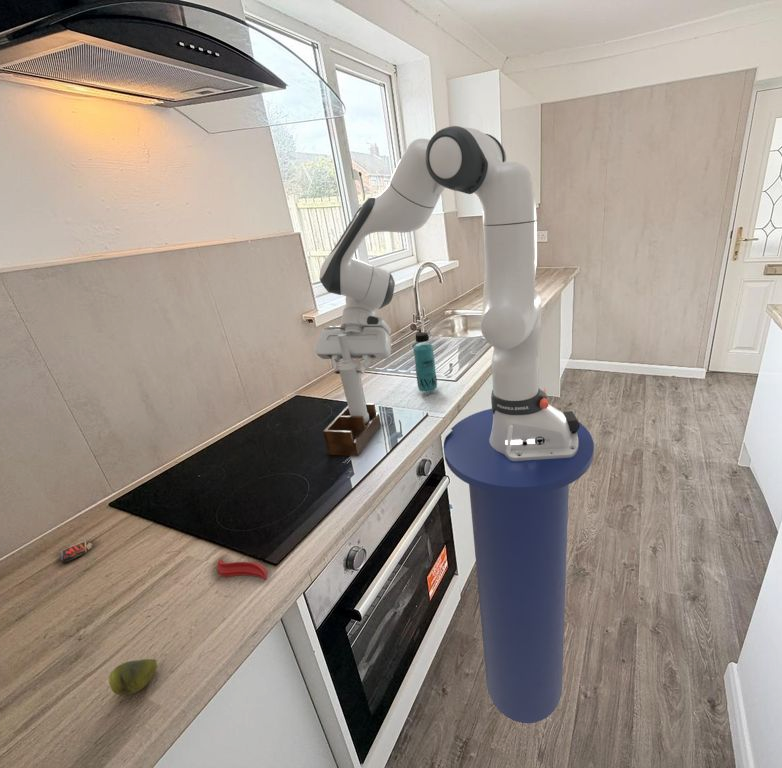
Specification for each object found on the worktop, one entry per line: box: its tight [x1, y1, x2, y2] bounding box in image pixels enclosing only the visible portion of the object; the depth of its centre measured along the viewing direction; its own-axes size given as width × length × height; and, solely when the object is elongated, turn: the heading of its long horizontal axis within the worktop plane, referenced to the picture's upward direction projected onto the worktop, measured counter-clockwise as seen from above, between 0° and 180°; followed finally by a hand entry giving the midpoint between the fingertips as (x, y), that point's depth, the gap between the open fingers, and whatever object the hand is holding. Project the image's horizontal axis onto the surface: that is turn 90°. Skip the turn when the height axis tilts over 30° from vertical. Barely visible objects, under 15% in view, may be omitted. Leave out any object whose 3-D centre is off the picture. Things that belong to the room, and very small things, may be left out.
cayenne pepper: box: [216, 558, 268, 580], centre depth 73 cm, size 12×5×2 cm, turn 60°
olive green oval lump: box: [108, 658, 158, 697], centre depth 55 cm, size 4×5×5 cm
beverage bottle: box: [413, 332, 438, 393], centre depth 132 cm, size 6×7×20 cm
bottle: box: [338, 334, 369, 424], centre depth 108 cm, size 5×5×25 cm
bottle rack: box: [322, 402, 382, 457], centre depth 110 cm, size 8×16×7 cm, turn 169°
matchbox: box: [60, 540, 93, 563], centre depth 81 cm, size 5×5×1 cm
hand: (348, 373), depth 107 cm, fingers closed on bottle, 5 cm apart
